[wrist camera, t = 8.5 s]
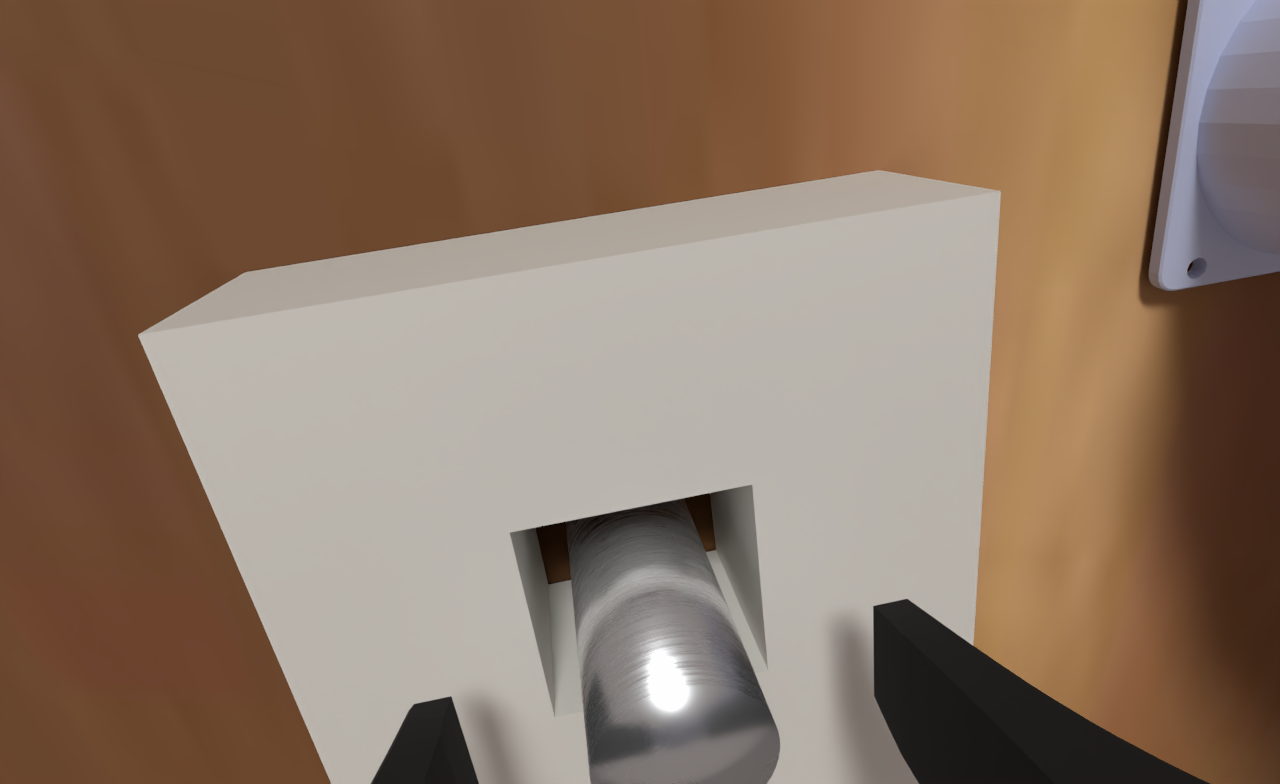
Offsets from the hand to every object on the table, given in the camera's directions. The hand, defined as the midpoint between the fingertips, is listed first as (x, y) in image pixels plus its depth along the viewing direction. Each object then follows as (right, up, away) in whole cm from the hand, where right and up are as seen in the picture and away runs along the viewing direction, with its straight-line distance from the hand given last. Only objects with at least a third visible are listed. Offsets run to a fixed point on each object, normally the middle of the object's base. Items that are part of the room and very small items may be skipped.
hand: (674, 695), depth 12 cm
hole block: (-1, +3, +6) cm, 7 cm away
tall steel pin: (-1, +2, +6) cm, 7 cm away
